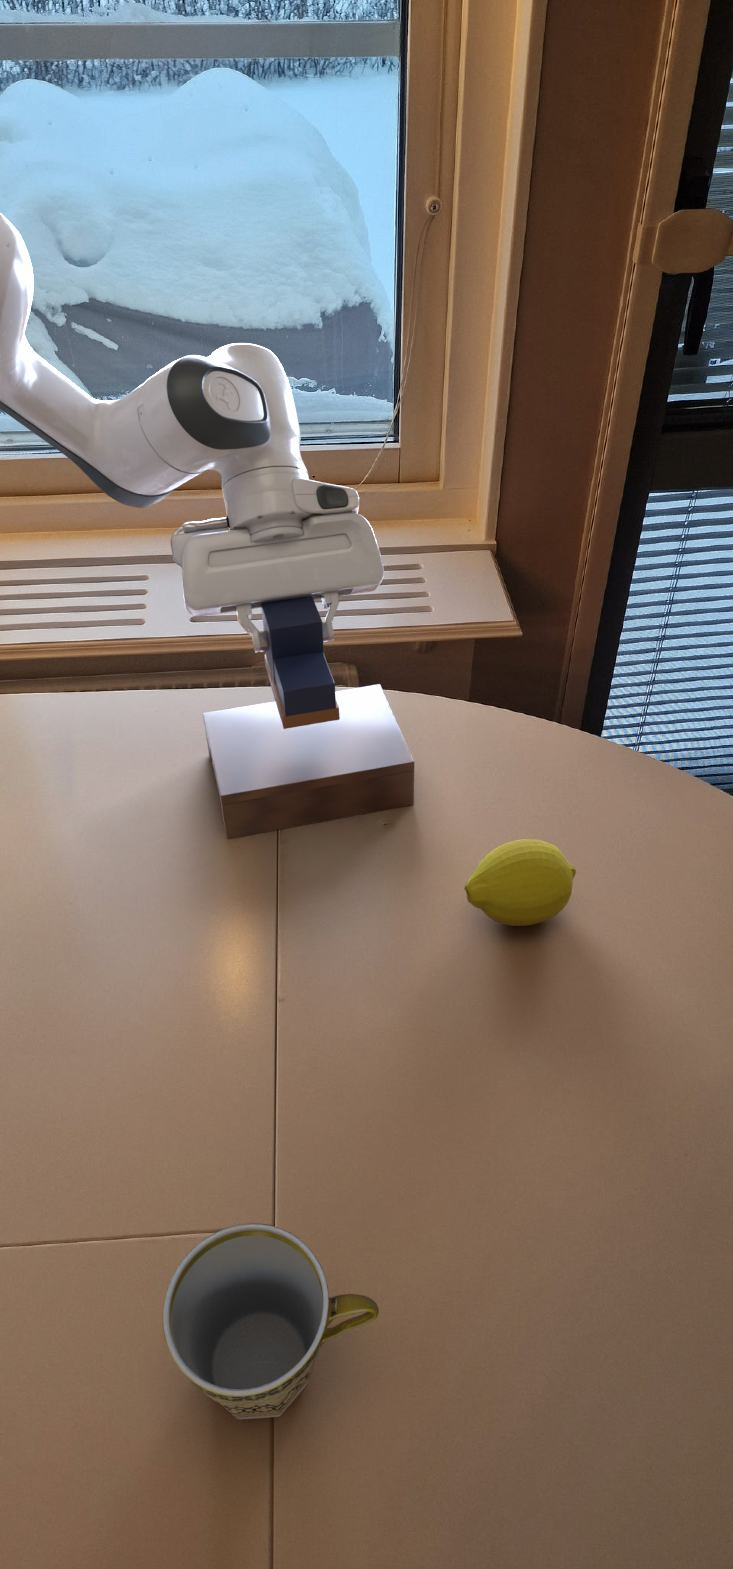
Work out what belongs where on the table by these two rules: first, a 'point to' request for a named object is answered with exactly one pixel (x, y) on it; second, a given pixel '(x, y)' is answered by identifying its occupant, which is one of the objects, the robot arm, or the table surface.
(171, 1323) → the ceramic cup
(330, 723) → the shoe shelf
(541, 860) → the lemon
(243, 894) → the table surface
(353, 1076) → the table surface
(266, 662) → the trainer
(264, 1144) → the table surface
